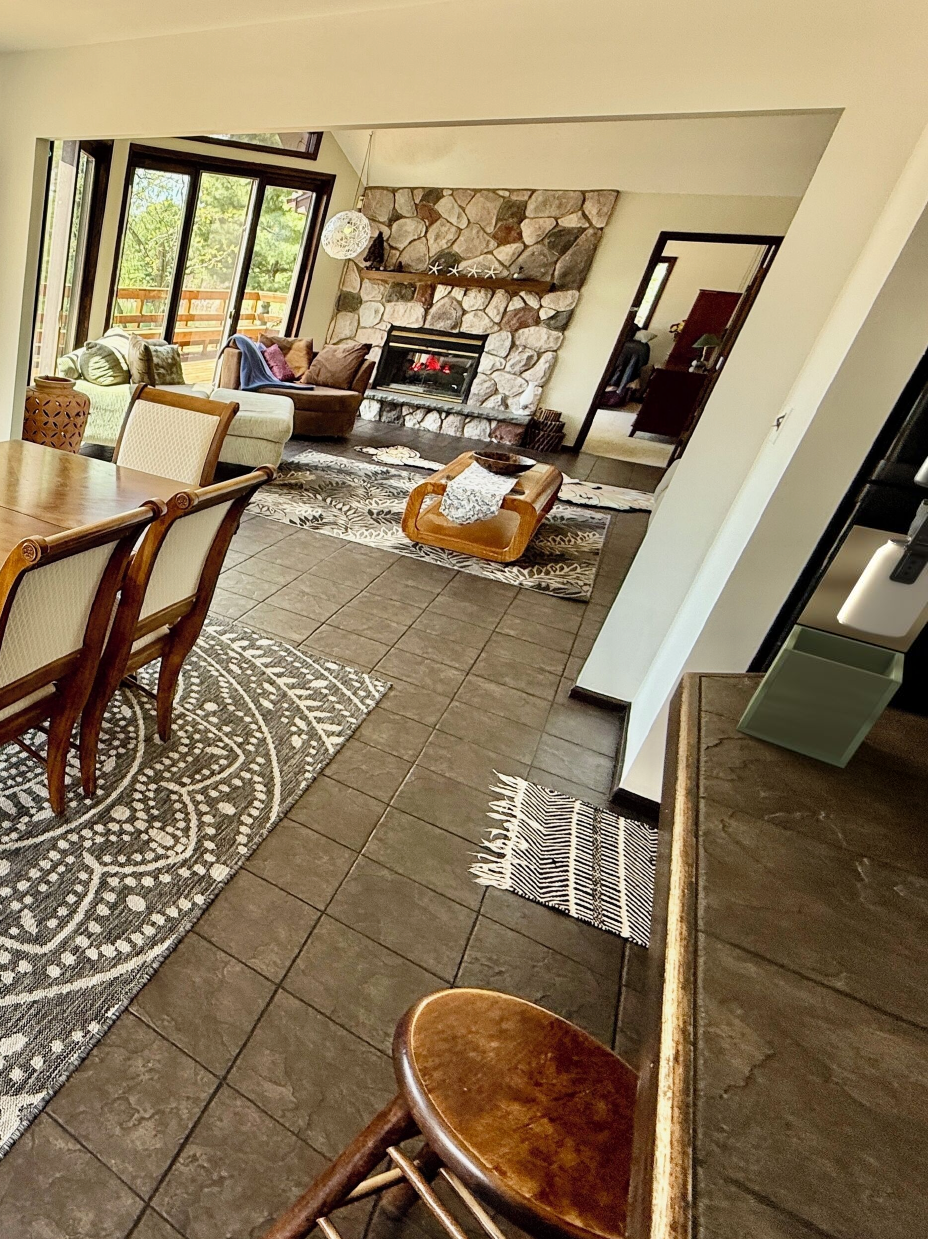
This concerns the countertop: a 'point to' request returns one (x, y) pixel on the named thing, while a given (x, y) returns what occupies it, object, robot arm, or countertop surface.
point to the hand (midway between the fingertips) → (901, 576)
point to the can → (885, 596)
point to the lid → (843, 581)
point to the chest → (823, 695)
